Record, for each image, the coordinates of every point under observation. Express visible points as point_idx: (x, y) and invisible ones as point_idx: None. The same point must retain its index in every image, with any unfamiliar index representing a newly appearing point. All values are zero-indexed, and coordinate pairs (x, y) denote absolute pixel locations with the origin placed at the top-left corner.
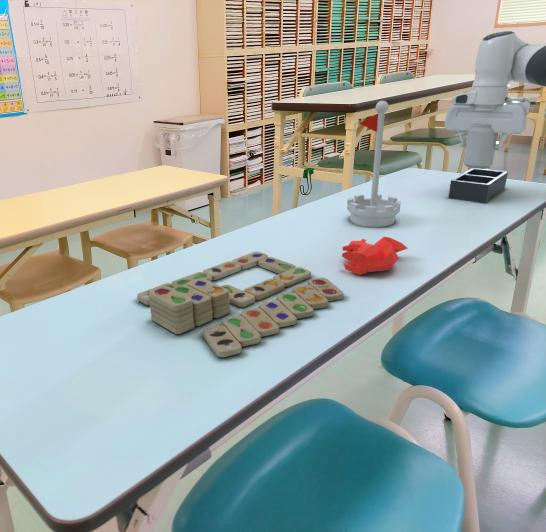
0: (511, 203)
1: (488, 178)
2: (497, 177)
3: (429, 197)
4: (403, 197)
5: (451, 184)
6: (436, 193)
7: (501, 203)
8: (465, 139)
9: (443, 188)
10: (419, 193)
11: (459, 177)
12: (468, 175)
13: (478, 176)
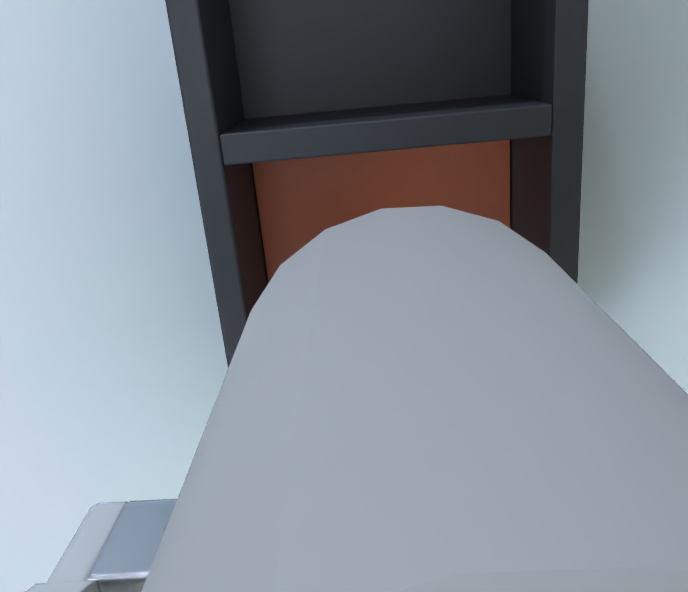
0: (683, 258)
1: (478, 138)
2: (565, 98)
3: (158, 439)
4: (35, 530)
5: None
6: (131, 312)
7: (620, 301)
8: (85, 589)
9: (77, 118)
10: (42, 383)
11: (247, 316)
12: (269, 159)
13: (375, 151)
